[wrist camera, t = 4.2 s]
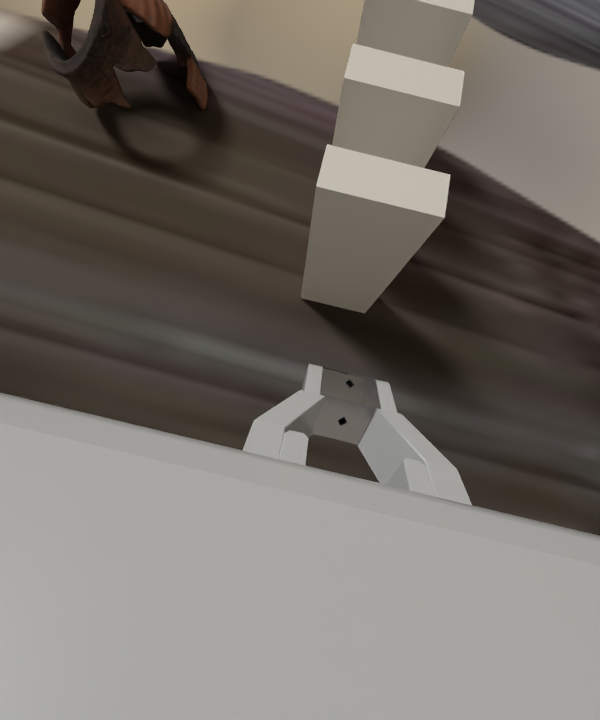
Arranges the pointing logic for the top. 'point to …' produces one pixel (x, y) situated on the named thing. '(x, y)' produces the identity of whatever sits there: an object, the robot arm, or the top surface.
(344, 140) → the domino
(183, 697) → the robot arm
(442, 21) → the domino
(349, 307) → the domino
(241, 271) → the top surface
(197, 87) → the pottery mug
